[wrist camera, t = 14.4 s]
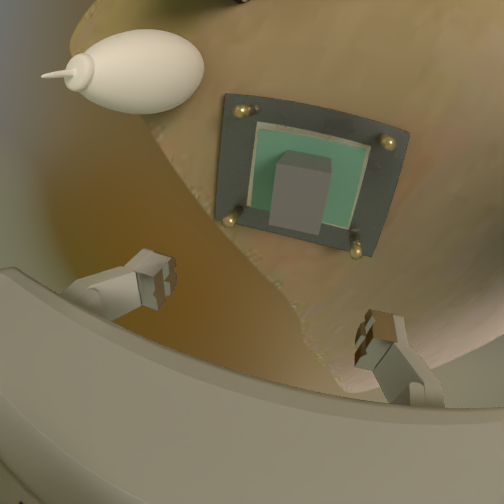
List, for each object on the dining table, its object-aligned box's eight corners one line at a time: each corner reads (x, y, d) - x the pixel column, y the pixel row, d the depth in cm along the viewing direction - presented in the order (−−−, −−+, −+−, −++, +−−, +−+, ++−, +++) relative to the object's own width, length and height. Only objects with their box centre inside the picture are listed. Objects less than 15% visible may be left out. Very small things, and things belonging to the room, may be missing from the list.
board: (364, 148, 23) (376, 163, 17) (347, 223, 27) (350, 259, 21) (260, 128, 25) (238, 137, 19) (253, 204, 29) (231, 233, 23)
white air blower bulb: (176, 32, 22) (36, 8, 7) (234, 58, 22) (105, 22, 7) (145, 90, 26) (6, 116, 11) (197, 120, 27) (60, 162, 12)
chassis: (408, 131, 22) (419, 136, 18) (370, 253, 29) (374, 272, 26) (228, 93, 24) (213, 92, 21) (217, 216, 32) (204, 230, 29)
